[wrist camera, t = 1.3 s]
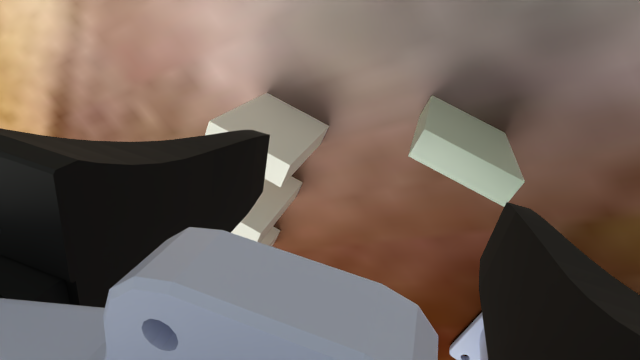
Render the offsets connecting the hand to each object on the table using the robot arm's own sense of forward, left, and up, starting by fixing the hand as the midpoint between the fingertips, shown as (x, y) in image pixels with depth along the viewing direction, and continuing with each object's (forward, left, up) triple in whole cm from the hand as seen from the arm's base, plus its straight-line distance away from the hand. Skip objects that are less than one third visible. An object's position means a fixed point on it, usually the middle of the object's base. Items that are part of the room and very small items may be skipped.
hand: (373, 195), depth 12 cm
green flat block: (-3, -1, -10) cm, 10 cm away
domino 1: (+5, +3, -10) cm, 12 cm away
